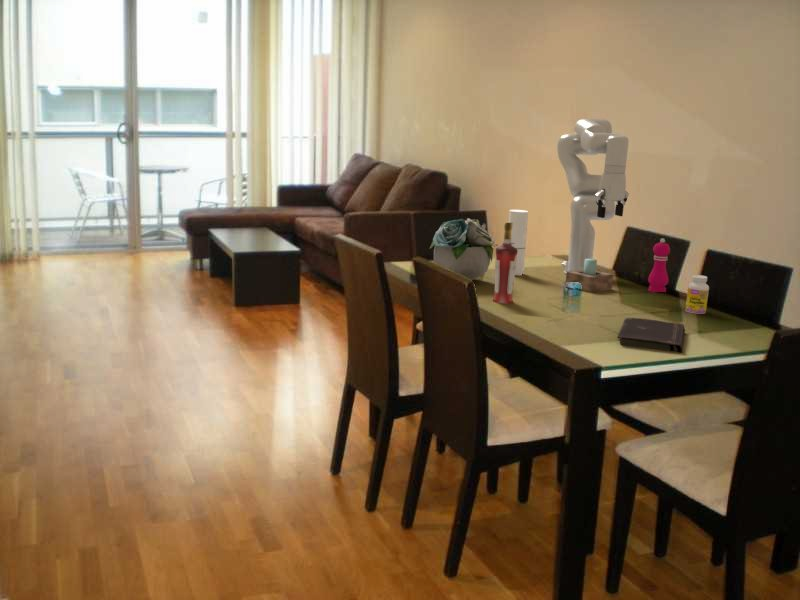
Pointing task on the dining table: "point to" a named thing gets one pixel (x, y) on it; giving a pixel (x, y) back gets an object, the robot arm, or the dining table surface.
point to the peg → (590, 266)
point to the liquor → (505, 268)
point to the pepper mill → (659, 268)
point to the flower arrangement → (463, 247)
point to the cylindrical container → (519, 236)
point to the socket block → (591, 280)
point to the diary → (652, 334)
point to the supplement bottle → (697, 295)
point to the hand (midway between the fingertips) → (609, 216)
